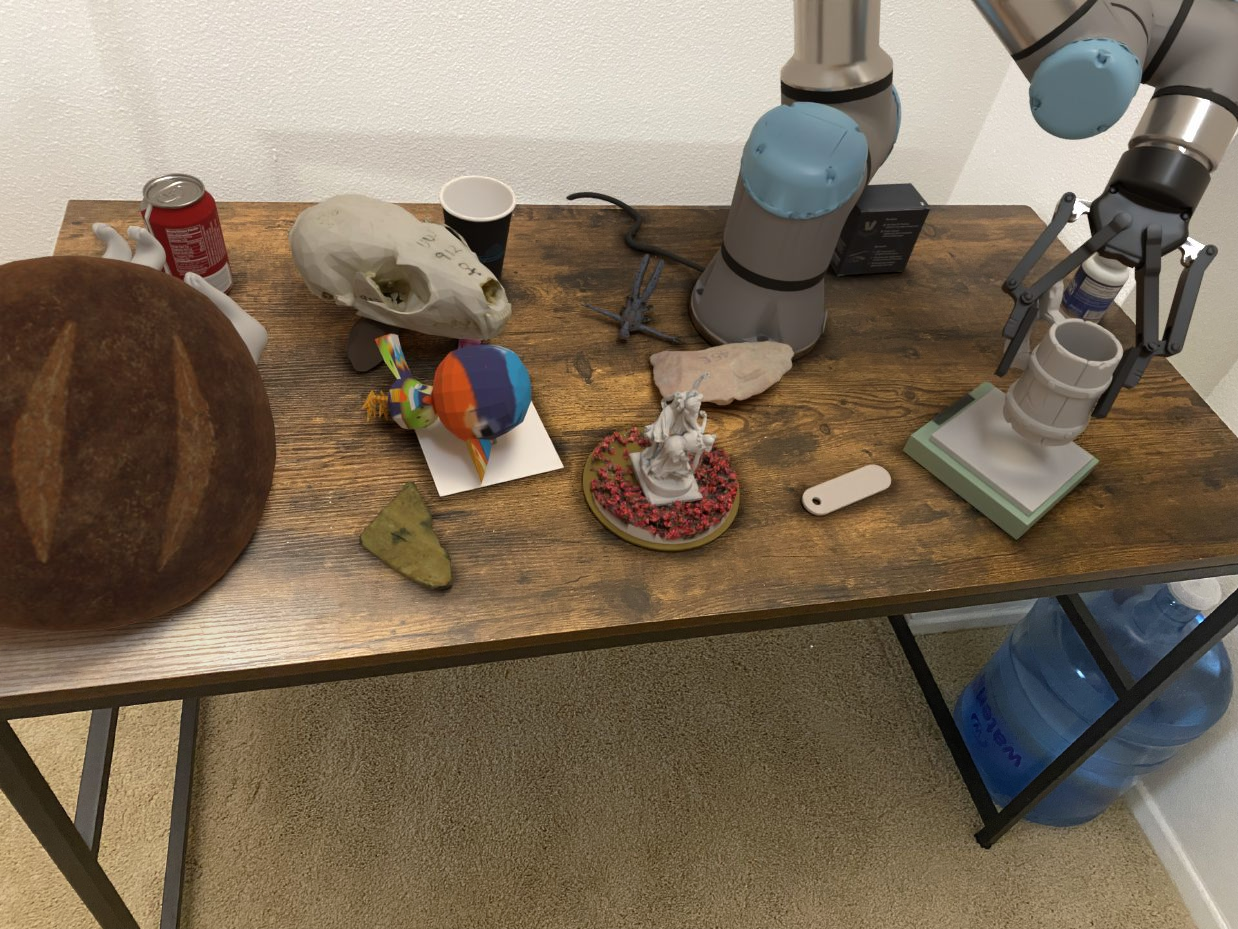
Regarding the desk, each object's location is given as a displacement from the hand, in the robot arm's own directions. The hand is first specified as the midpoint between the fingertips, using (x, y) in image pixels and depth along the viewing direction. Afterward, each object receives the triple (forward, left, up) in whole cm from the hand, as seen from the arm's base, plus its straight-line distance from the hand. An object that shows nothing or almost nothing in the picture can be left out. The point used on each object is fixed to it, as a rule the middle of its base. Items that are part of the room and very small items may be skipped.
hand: (1048, 395), depth 84 cm
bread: (-43, -68, -2) cm, 81 cm away
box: (-31, +18, -13) cm, 38 cm away
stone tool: (-30, -20, -11) cm, 38 cm away
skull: (-49, -37, -9) cm, 62 cm away
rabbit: (-54, -55, 0) cm, 77 cm away
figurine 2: (-40, -12, -11) cm, 43 cm away
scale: (-1, +3, -13) cm, 13 cm away
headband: (-45, -28, -11) cm, 54 cm away
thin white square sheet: (-34, -38, -13) cm, 52 cm away
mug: (-2, +3, -5) cm, 6 cm away
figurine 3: (-19, -28, -13) cm, 36 cm away
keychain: (-10, -13, -12) cm, 20 cm away
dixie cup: (-53, -25, -13) cm, 60 cm away
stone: (-27, -48, -14) cm, 57 cm away
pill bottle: (-9, +34, -13) cm, 38 cm away
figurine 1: (-55, -33, -10) cm, 65 cm away
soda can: (-68, -50, -13) cm, 85 cm away
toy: (-41, -45, -10) cm, 62 cm away
